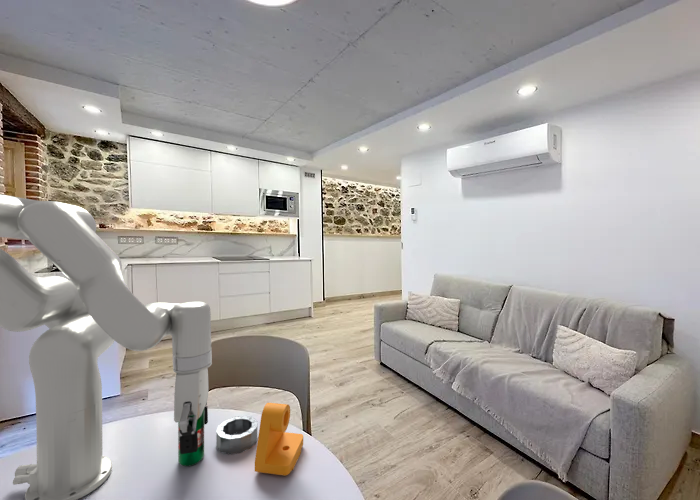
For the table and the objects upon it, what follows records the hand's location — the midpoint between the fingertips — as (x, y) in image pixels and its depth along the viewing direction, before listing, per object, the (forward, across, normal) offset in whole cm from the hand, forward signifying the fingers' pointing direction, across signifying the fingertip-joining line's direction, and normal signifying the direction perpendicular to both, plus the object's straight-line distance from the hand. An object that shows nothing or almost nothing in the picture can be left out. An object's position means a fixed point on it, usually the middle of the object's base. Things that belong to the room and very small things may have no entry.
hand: (195, 437), depth 68 cm
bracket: (+6, +4, +18) cm, 19 cm away
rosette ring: (+5, -4, +8) cm, 11 cm away
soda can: (+5, 0, -1) cm, 5 cm away
